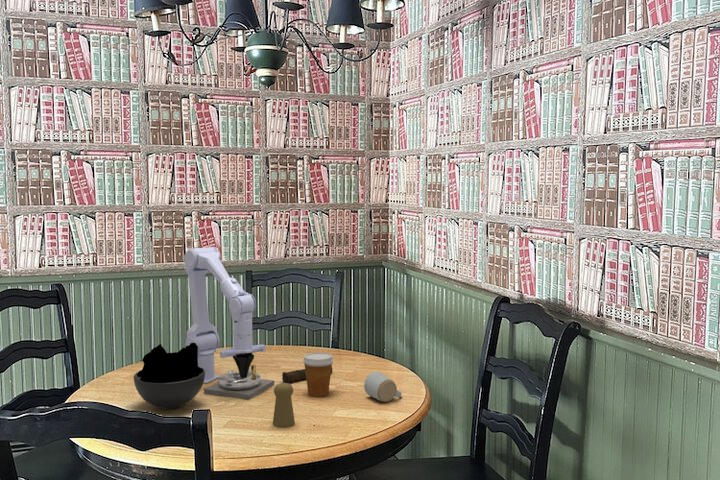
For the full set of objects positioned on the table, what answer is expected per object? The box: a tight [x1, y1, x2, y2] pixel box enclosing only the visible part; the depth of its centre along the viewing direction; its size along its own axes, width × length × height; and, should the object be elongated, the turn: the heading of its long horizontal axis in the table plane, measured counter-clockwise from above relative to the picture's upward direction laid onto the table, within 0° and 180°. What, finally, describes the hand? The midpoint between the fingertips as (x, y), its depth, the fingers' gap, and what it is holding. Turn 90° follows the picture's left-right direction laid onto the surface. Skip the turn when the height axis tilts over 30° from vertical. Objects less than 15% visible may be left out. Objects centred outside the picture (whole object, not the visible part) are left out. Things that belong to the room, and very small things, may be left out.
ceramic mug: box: [363, 371, 402, 403], centre depth 203 cm, size 11×8×8 cm
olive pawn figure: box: [272, 382, 296, 429], centre depth 181 cm, size 6×6×11 cm
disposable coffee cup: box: [302, 352, 334, 398], centre depth 207 cm, size 10×10×12 cm
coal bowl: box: [133, 343, 205, 410], centre depth 194 cm, size 20×20×19 cm
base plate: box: [203, 378, 275, 401], centre depth 212 cm, size 16×16×2 cm
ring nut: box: [218, 364, 262, 390], centre depth 211 cm, size 13×13×6 cm
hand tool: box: [281, 367, 333, 384], centre depth 223 cm, size 19×4×5 cm, turn 125°
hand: (243, 377), depth 207 cm, fingers closed
